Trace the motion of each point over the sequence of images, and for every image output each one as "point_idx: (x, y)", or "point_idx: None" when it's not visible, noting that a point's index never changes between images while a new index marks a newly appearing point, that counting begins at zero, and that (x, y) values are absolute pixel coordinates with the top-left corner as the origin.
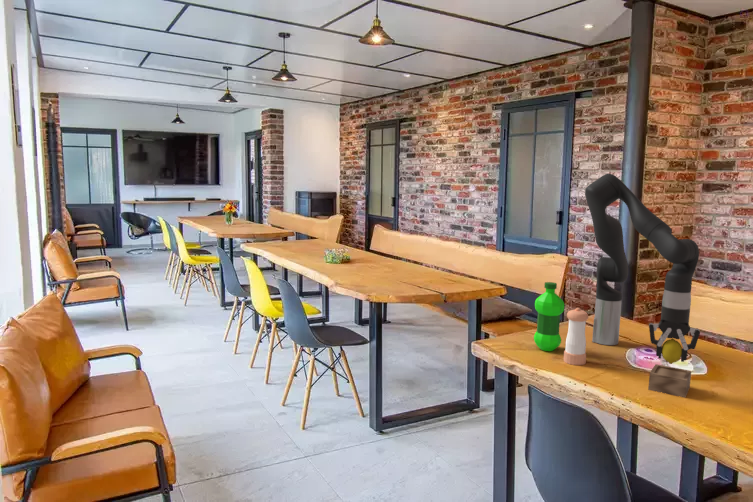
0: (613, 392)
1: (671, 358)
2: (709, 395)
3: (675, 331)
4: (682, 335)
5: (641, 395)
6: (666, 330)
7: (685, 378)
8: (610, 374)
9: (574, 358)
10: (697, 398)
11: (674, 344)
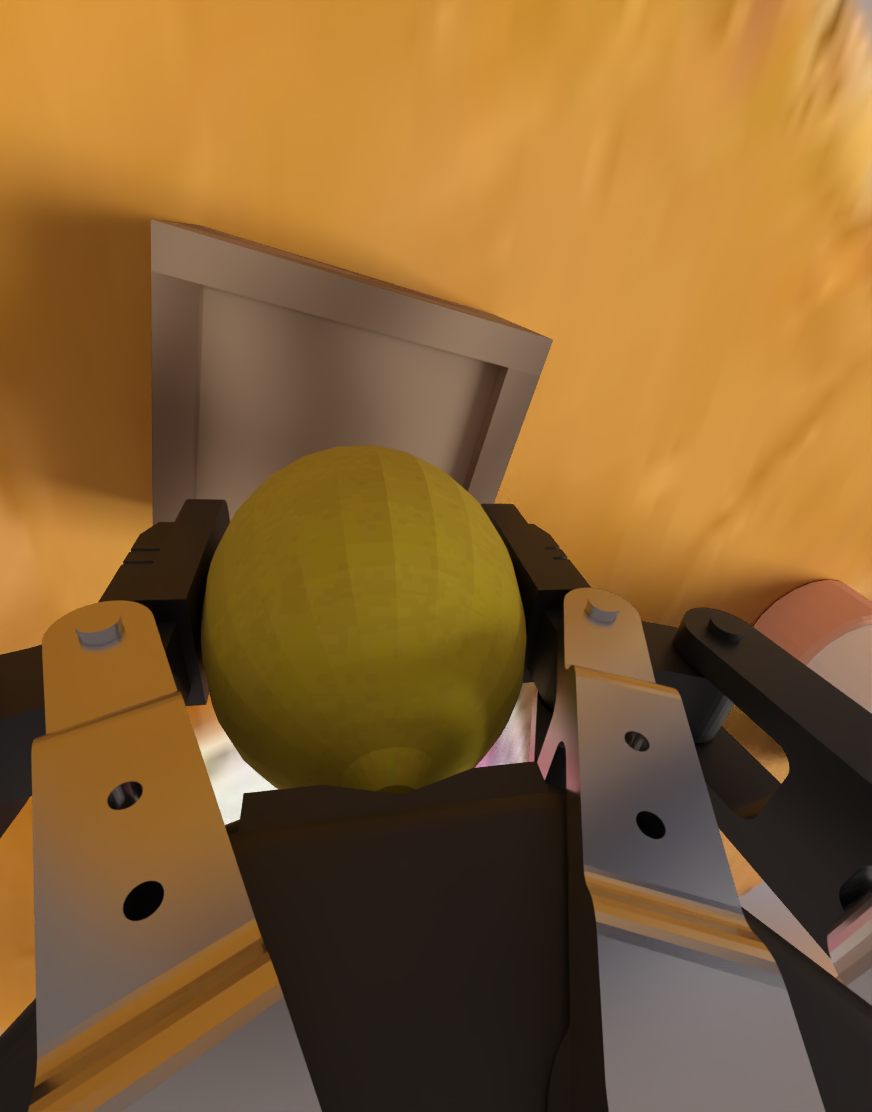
0: (800, 98)
1: (365, 445)
2: (9, 393)
3: (381, 1106)
4: (65, 969)
5: (581, 114)
6: (778, 1010)
7: (178, 302)
8: (676, 522)
9: (857, 603)
10: (91, 255)
11: (350, 621)
